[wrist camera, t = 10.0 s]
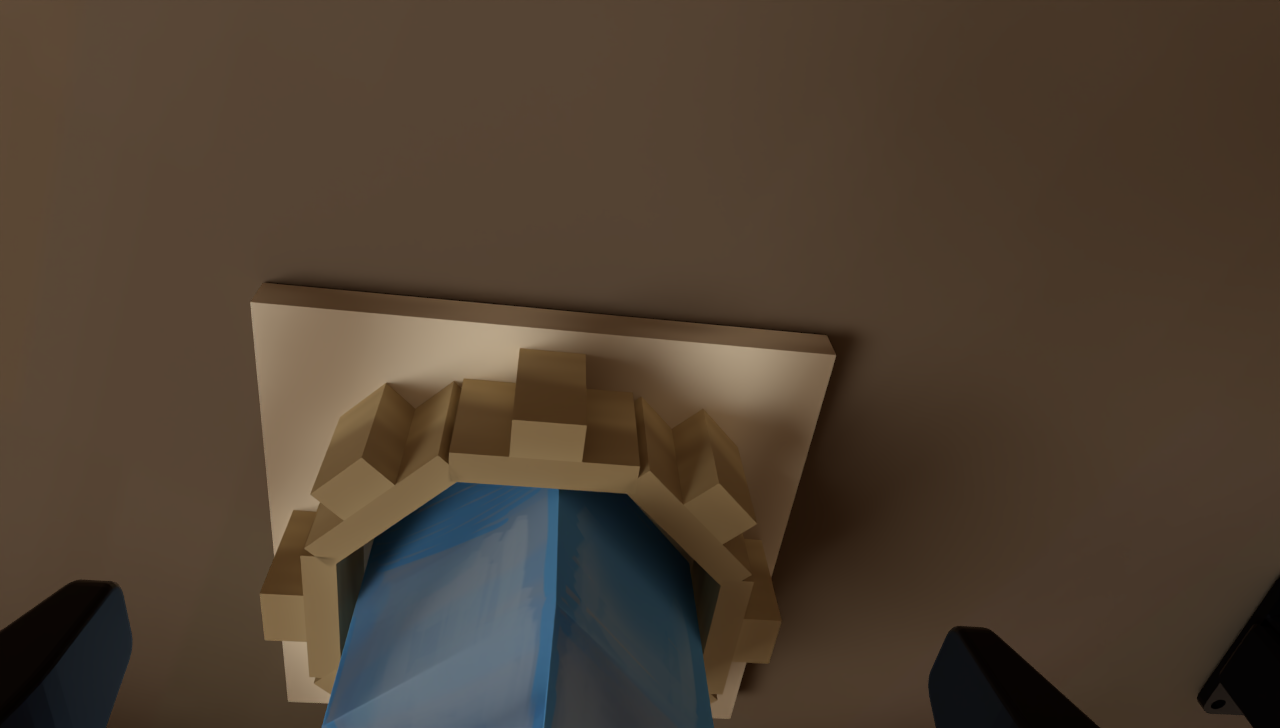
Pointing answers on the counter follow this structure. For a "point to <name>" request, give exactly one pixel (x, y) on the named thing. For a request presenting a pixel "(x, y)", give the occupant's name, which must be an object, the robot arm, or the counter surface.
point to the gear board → (524, 445)
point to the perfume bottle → (523, 618)
